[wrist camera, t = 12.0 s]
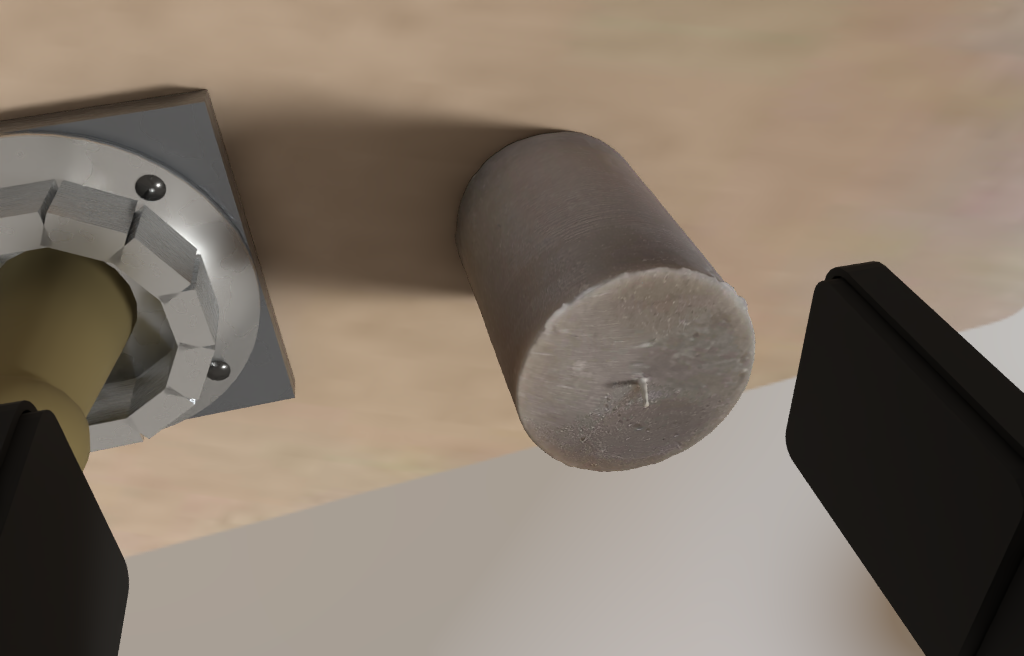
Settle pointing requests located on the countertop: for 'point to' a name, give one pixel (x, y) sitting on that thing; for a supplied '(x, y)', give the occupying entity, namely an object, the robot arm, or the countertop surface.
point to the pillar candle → (599, 305)
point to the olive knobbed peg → (61, 335)
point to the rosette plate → (151, 254)
